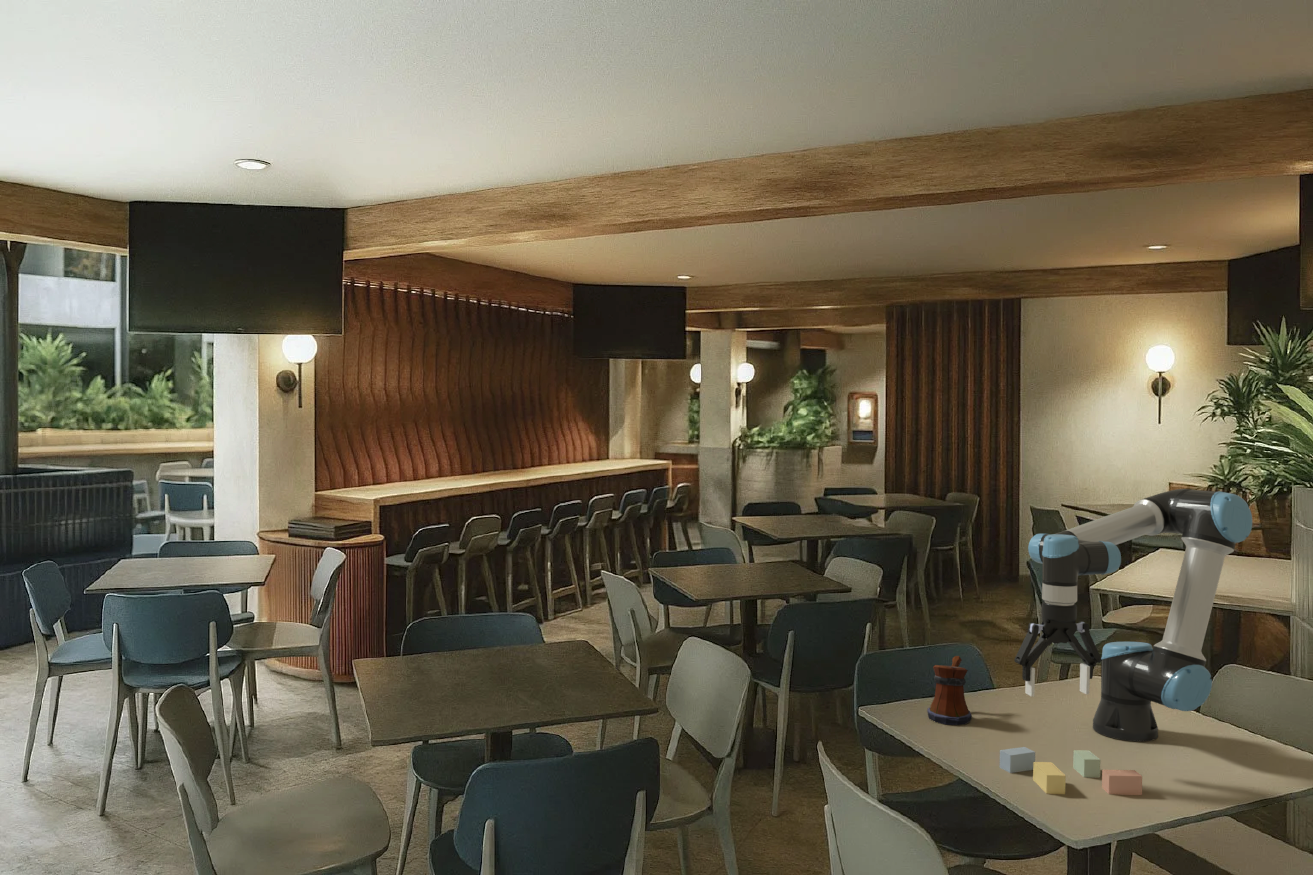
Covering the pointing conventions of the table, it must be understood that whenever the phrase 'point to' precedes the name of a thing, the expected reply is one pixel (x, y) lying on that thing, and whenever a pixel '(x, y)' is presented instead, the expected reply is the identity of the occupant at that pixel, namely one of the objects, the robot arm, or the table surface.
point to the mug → (950, 695)
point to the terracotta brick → (1122, 782)
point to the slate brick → (1017, 759)
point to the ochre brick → (1049, 777)
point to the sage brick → (1086, 763)
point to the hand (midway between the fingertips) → (1057, 693)
